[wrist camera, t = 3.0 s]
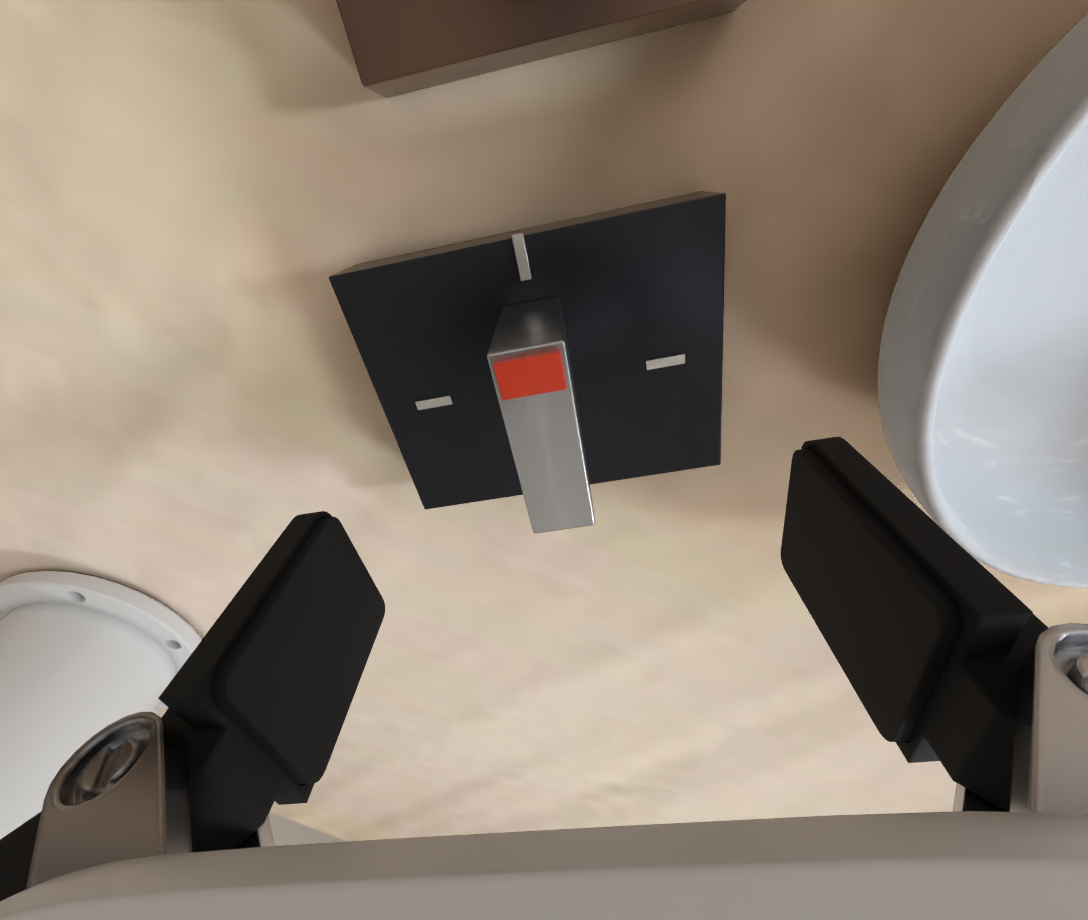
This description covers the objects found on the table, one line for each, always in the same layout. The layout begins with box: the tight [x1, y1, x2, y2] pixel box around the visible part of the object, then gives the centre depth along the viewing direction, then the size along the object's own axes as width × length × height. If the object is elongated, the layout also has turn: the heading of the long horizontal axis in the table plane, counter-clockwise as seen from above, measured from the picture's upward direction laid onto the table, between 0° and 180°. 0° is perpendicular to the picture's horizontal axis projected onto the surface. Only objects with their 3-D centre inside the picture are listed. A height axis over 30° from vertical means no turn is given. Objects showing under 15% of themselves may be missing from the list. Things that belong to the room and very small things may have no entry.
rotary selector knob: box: [487, 296, 595, 533], centre depth 15 cm, size 6×2×5 cm, turn 11°
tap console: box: [329, 191, 726, 509], centre depth 18 cm, size 13×10×3 cm
